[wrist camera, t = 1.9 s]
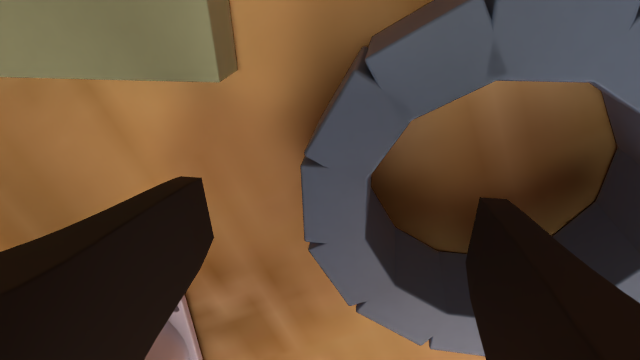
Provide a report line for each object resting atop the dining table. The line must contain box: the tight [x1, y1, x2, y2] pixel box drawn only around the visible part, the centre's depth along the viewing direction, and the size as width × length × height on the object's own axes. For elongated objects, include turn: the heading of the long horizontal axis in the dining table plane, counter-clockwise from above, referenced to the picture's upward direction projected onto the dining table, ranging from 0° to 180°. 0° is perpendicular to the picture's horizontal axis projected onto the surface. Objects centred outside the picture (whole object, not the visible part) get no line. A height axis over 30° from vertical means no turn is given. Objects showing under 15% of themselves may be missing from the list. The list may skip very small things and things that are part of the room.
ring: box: [301, 0, 640, 356], centre depth 11 cm, size 11×11×3 cm
